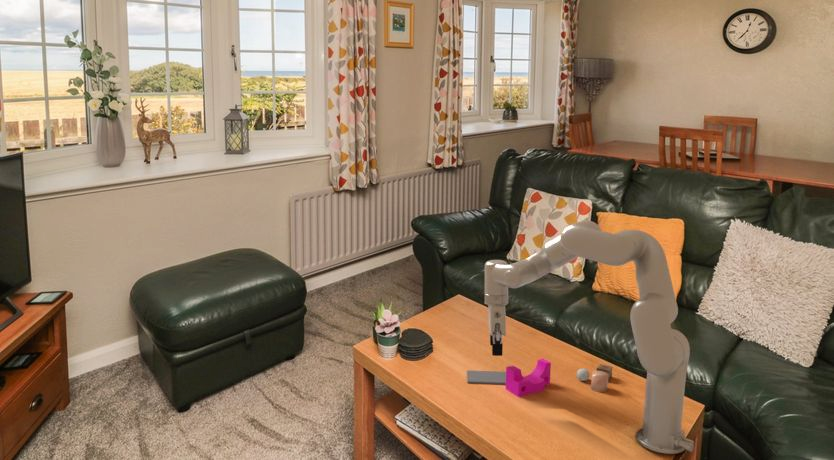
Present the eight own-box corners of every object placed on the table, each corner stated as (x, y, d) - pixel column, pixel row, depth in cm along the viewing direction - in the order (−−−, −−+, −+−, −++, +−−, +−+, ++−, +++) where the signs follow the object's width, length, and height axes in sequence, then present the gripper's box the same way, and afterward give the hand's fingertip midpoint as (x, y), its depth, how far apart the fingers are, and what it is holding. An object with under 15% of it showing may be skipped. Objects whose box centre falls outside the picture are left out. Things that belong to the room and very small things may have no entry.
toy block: (518, 397, 176) (519, 374, 175) (505, 389, 181) (506, 367, 180) (555, 387, 183) (556, 365, 182) (541, 380, 188) (542, 358, 187)
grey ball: (591, 381, 188) (592, 369, 187) (584, 384, 186) (584, 372, 185) (581, 377, 191) (582, 365, 190) (573, 379, 189) (574, 368, 188)
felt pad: (517, 373, 193) (517, 372, 193) (520, 385, 184) (520, 383, 184) (466, 372, 194) (466, 370, 194) (467, 383, 185) (467, 381, 185)
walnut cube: (611, 378, 191) (612, 366, 190) (608, 382, 187) (609, 370, 187) (599, 375, 193) (600, 364, 192) (595, 379, 189) (596, 367, 189)
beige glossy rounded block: (610, 389, 182) (611, 374, 181) (601, 393, 179) (602, 378, 178) (596, 384, 186) (597, 369, 185) (587, 388, 182) (588, 373, 182)
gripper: (510, 305, 176) (510, 359, 178) (505, 292, 193) (505, 341, 195) (486, 305, 177) (486, 359, 179) (483, 292, 194) (483, 341, 196)
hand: (496, 350), depth 187 cm, fingers open, 9 cm apart
